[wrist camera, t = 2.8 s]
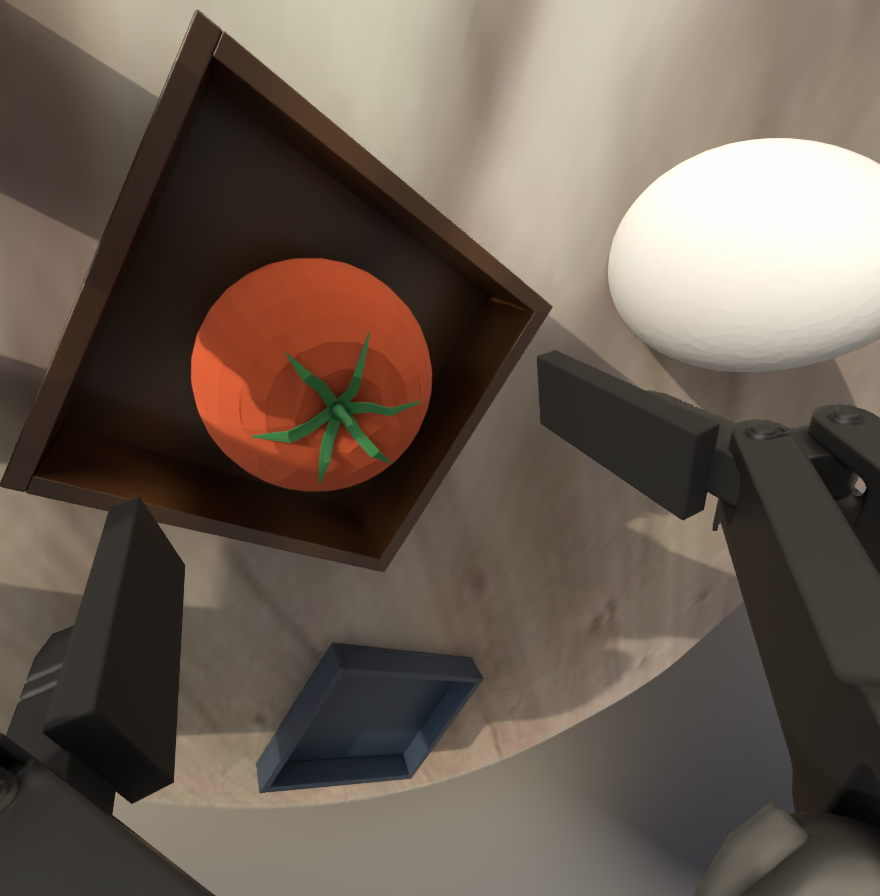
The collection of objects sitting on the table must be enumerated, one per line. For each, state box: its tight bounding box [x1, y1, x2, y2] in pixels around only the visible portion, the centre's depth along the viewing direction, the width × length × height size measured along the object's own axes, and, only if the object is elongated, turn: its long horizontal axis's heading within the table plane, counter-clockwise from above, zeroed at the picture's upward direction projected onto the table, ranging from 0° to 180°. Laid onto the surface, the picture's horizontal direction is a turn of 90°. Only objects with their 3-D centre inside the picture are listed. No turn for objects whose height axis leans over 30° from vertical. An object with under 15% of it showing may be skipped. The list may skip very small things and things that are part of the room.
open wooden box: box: [0, 10, 552, 572], centre depth 23 cm, size 18×18×5 cm
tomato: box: [191, 258, 432, 491], centre depth 21 cm, size 10×10×10 cm
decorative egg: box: [608, 138, 880, 372], centre depth 26 cm, size 12×12×15 cm
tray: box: [256, 643, 484, 793], centre depth 40 cm, size 15×13×2 cm
